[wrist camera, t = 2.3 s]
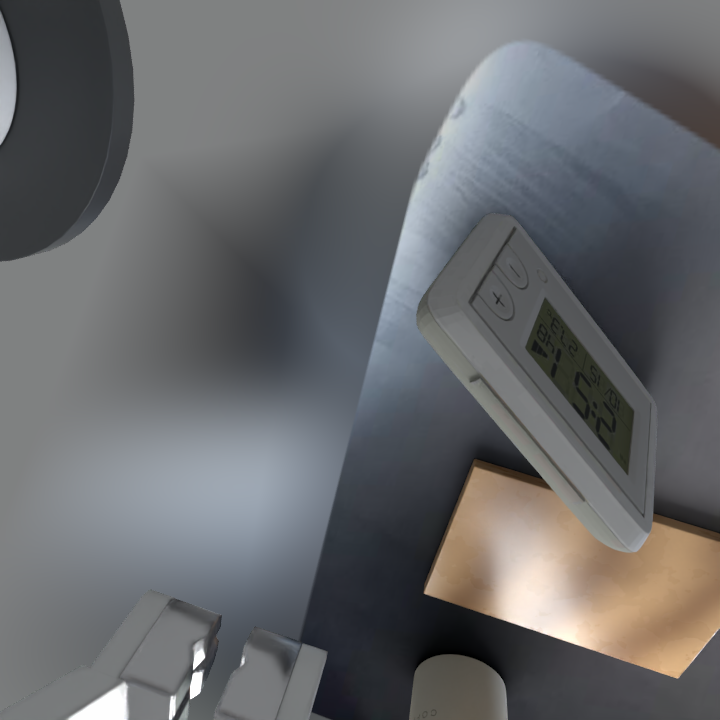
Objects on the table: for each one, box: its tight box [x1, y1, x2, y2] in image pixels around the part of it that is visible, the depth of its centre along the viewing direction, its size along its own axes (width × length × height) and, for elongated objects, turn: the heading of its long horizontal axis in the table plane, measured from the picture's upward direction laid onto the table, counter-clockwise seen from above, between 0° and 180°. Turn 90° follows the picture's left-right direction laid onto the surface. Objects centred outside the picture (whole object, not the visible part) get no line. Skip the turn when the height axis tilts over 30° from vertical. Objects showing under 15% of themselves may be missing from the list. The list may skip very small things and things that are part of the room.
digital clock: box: [416, 213, 657, 553], centre depth 26 cm, size 16×9×11 cm, turn 31°
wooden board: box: [424, 459, 720, 678], centre depth 36 cm, size 20×13×1 cm, turn 78°
